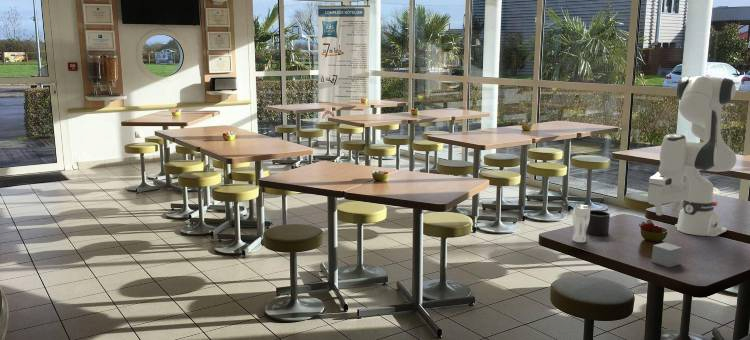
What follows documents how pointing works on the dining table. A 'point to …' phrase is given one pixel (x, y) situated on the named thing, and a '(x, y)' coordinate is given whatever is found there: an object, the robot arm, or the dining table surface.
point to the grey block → (666, 254)
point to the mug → (598, 223)
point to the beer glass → (580, 223)
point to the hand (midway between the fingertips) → (667, 213)
